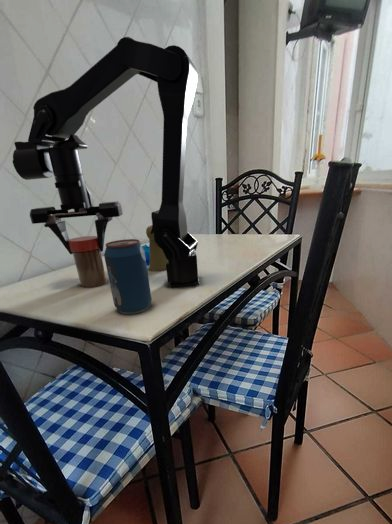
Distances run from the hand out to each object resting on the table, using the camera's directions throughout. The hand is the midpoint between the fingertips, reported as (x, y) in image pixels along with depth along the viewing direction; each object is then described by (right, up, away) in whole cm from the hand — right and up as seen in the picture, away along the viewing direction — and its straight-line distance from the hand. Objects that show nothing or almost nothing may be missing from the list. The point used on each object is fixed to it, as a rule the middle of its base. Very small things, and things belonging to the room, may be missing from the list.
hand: (86, 252), depth 73 cm
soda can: (+14, -15, -14) cm, 24 cm away
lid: (0, +2, -1) cm, 3 cm away
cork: (+16, 0, +13) cm, 20 cm away
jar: (0, -6, +4) cm, 7 cm away
